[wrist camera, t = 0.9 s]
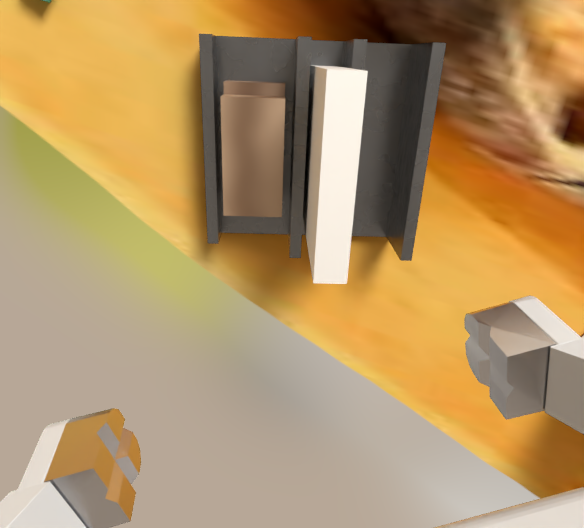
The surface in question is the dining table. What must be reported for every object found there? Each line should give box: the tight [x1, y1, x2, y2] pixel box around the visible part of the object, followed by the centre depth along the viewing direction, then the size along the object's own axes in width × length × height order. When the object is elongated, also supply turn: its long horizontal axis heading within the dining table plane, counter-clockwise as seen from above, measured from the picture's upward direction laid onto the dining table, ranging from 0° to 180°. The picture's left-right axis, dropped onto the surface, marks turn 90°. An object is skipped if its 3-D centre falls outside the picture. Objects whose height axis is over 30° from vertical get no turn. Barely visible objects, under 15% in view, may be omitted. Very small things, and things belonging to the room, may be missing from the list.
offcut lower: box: [224, 80, 285, 97], centre depth 42 cm, size 5×11×2 cm, turn 178°
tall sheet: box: [303, 65, 368, 284], centre depth 36 cm, size 2×14×15 cm, turn 178°
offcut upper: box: [220, 94, 285, 217], centre depth 40 cm, size 5×10×2 cm, turn 178°
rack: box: [199, 34, 446, 261], centre depth 41 cm, size 19×18×7 cm
